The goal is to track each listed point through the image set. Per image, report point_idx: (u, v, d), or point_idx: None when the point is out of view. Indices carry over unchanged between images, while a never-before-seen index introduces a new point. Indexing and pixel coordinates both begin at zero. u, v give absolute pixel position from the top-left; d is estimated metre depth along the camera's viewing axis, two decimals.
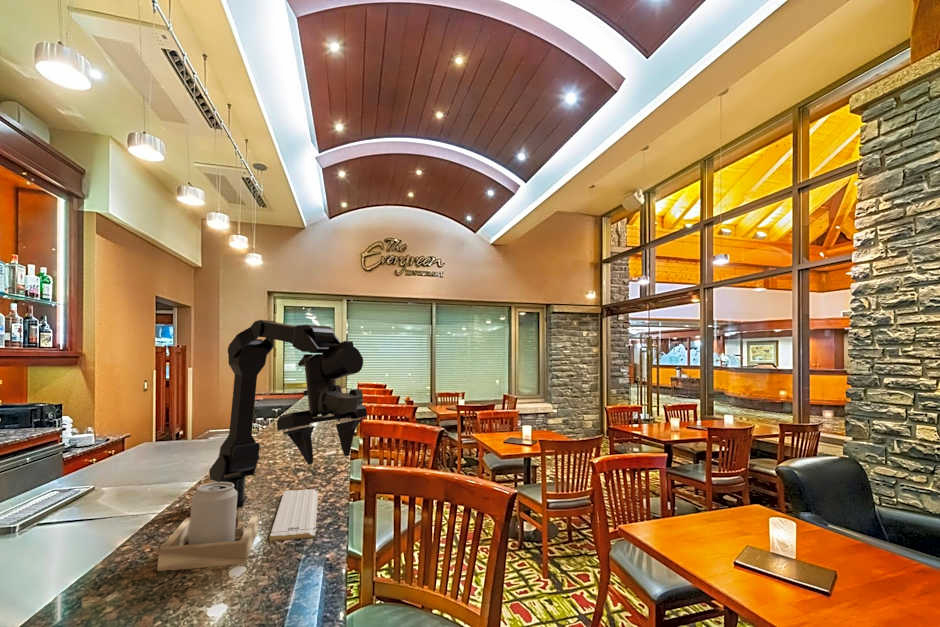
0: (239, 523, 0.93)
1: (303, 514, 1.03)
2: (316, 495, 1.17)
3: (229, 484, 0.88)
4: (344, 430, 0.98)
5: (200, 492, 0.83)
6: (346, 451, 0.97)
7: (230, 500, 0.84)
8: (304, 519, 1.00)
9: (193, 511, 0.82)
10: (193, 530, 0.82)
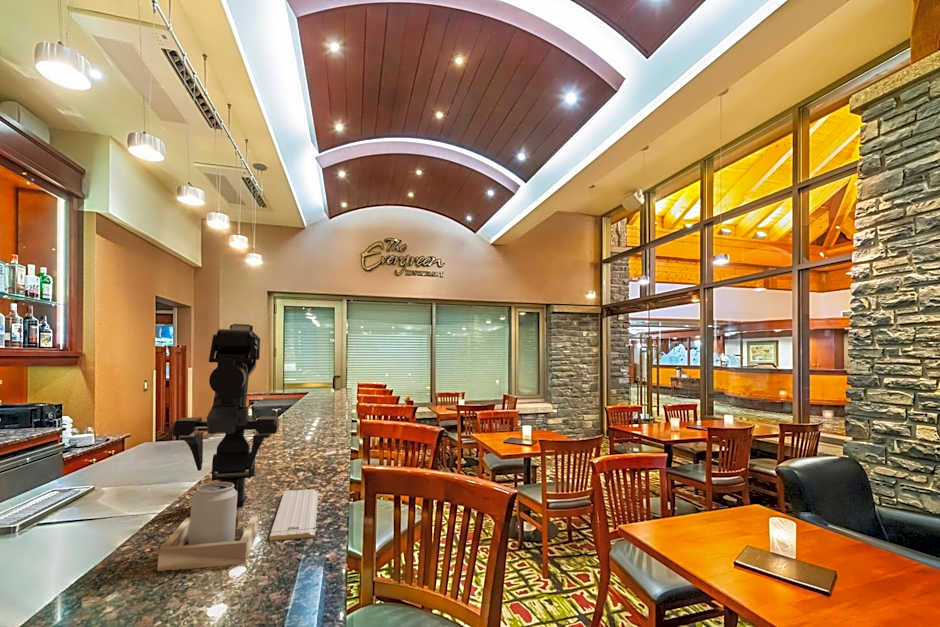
0: (239, 523, 0.93)
1: (302, 513, 1.03)
2: (316, 495, 1.17)
3: (229, 484, 0.88)
4: None
5: (200, 492, 0.83)
6: None
7: (230, 500, 0.84)
8: (304, 519, 1.00)
9: (193, 511, 0.82)
10: (193, 530, 0.82)
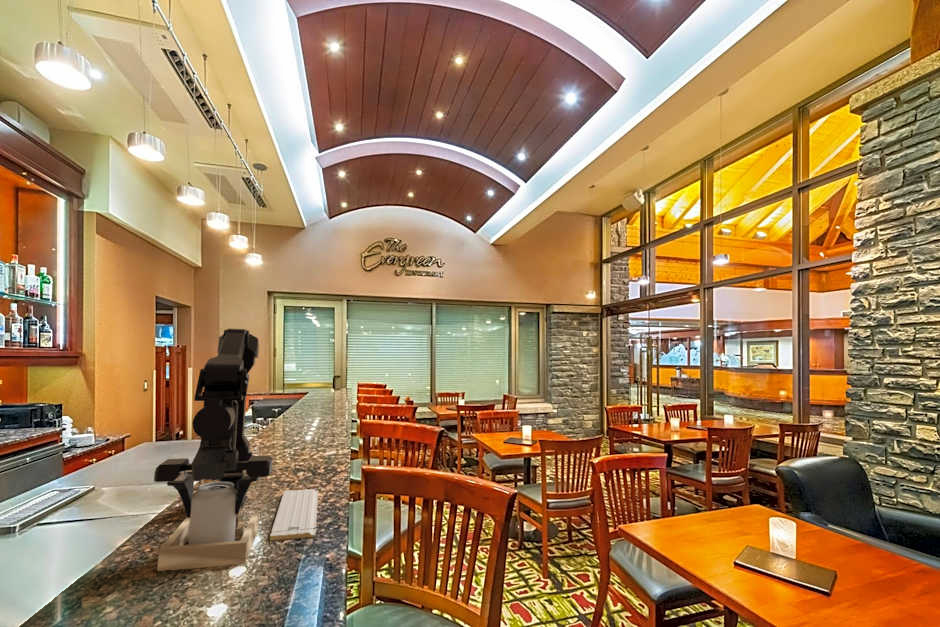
0: (239, 523, 0.93)
1: (303, 513, 1.03)
2: (316, 495, 1.18)
3: (229, 484, 0.88)
4: None
5: (200, 492, 0.83)
6: (236, 509, 0.86)
7: (230, 500, 0.84)
8: (304, 519, 1.00)
9: (193, 511, 0.82)
10: (193, 530, 0.82)
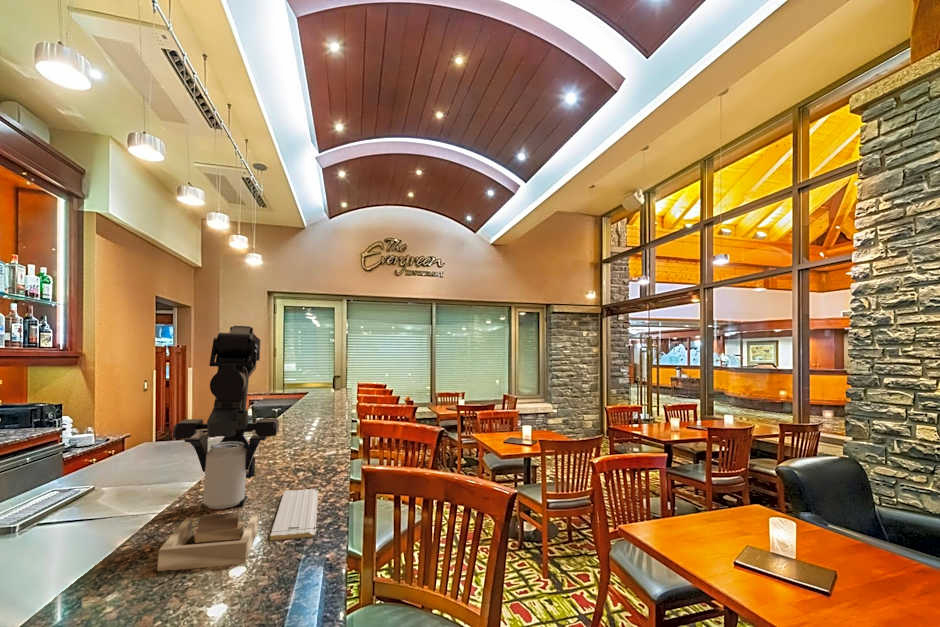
0: (239, 523, 0.93)
1: (303, 513, 1.03)
2: (316, 495, 1.18)
3: (239, 443, 0.97)
4: None
5: (214, 449, 0.92)
6: (246, 465, 0.95)
7: (241, 457, 0.93)
8: (304, 519, 1.00)
9: (208, 466, 0.91)
10: (208, 482, 0.91)
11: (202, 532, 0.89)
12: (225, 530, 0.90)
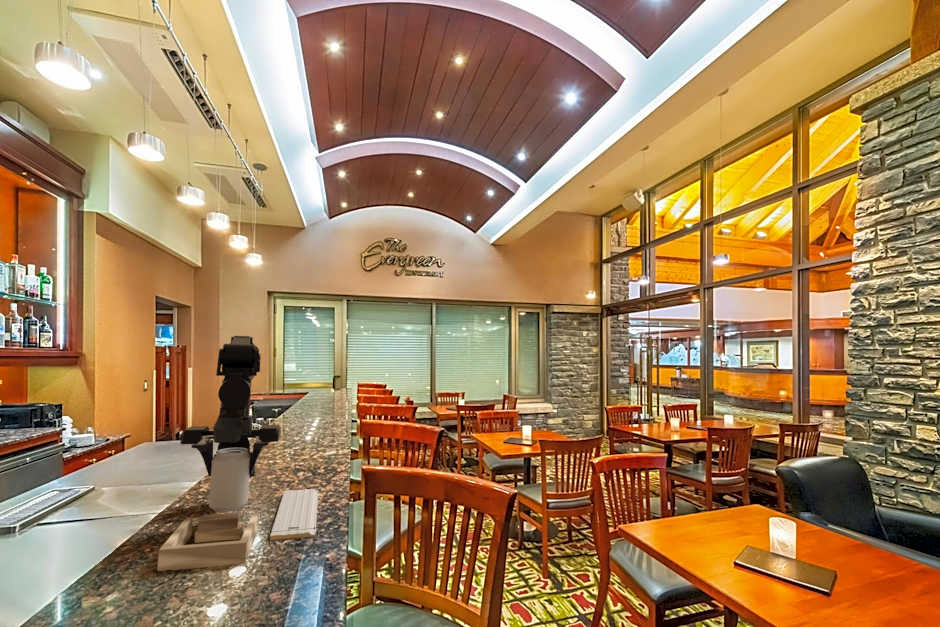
0: (239, 523, 0.93)
1: (303, 513, 1.03)
2: (316, 495, 1.18)
3: (243, 449, 1.01)
4: None
5: (219, 455, 0.96)
6: None
7: (245, 462, 0.98)
8: (304, 519, 1.00)
9: (213, 471, 0.96)
10: (213, 486, 0.95)
11: (202, 532, 0.89)
12: (225, 530, 0.90)
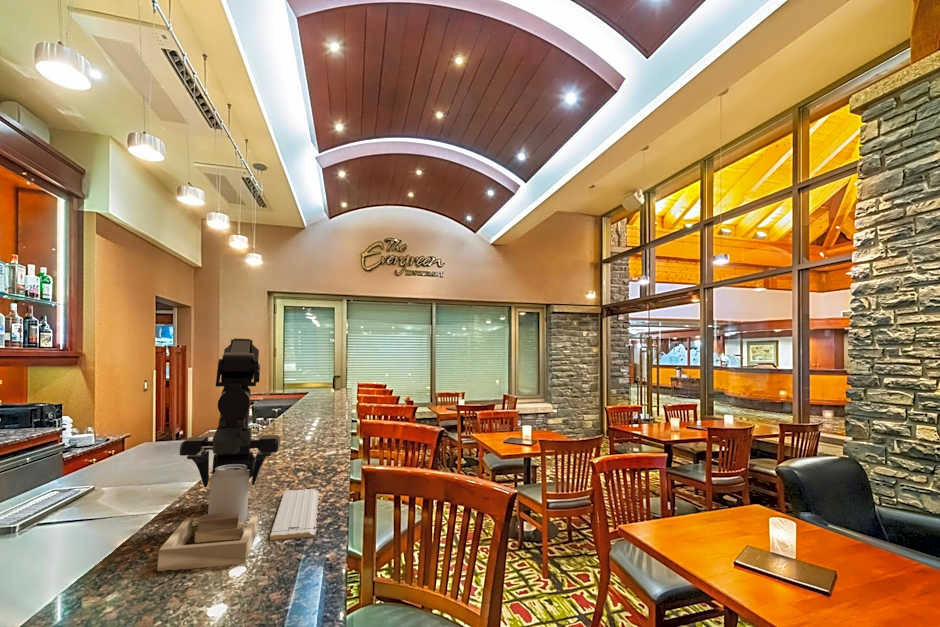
0: (239, 523, 0.93)
1: (303, 513, 1.03)
2: (316, 495, 1.18)
3: (242, 466, 1.01)
4: None
5: (218, 472, 0.96)
6: None
7: (244, 479, 0.98)
8: (304, 518, 1.00)
9: (212, 488, 0.95)
10: (212, 504, 0.95)
11: (202, 532, 0.89)
12: (225, 530, 0.90)
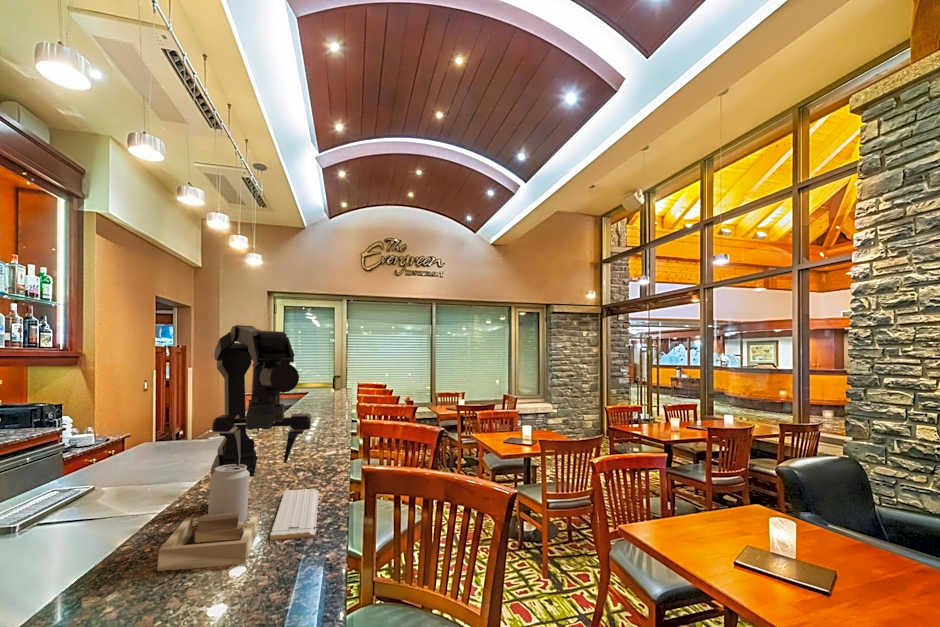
0: (239, 523, 0.93)
1: (303, 513, 1.03)
2: (316, 495, 1.18)
3: (242, 466, 1.01)
4: None
5: (218, 472, 0.96)
6: (284, 458, 0.98)
7: (244, 479, 0.98)
8: (304, 518, 1.00)
9: (212, 488, 0.95)
10: (212, 504, 0.95)
11: (202, 532, 0.89)
12: (225, 530, 0.90)
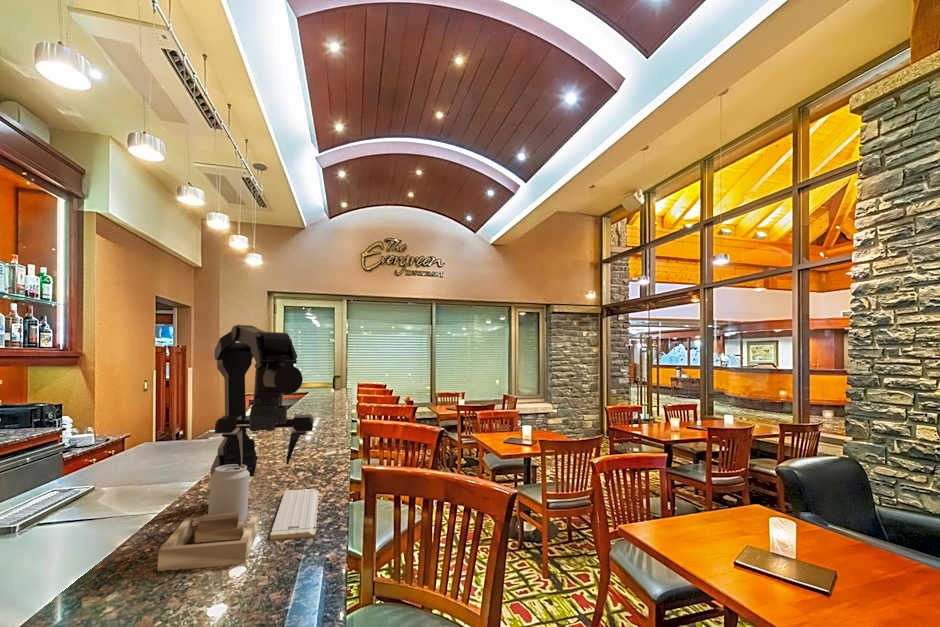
0: (239, 523, 0.93)
1: (303, 513, 1.03)
2: (317, 495, 1.18)
3: (242, 466, 1.01)
4: None
5: (218, 472, 0.96)
6: None
7: (244, 479, 0.98)
8: (304, 518, 1.00)
9: (212, 488, 0.95)
10: (212, 504, 0.95)
11: (202, 532, 0.89)
12: (225, 530, 0.90)
